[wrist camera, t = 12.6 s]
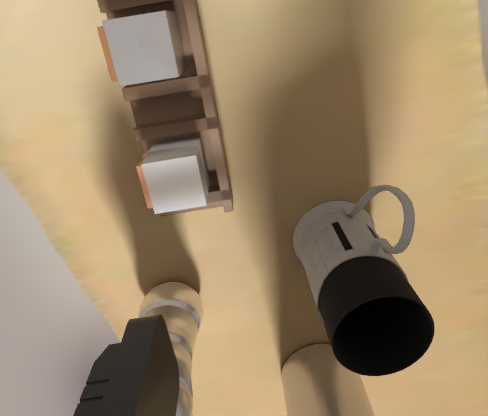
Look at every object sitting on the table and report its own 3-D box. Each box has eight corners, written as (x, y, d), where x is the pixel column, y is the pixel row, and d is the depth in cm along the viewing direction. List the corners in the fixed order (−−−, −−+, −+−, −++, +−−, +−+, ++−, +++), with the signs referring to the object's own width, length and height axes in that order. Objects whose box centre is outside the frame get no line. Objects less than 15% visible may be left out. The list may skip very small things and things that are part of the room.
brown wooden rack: (232, 196, 41) (234, 234, 34) (163, 207, 41) (150, 247, 34) (190, -33, 33) (180, -48, 26) (104, -17, 33) (70, -28, 26)
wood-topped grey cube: (186, 67, 34) (178, 76, 29) (129, 77, 34) (110, 87, 29) (175, 12, 32) (165, 10, 27) (115, 22, 32) (93, 22, 27)
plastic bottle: (211, 313, 47) (201, 498, 29) (155, 327, 48) (110, 517, 29) (194, 267, 44) (171, 439, 26) (134, 282, 45) (71, 460, 27)
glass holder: (285, 269, 45) (311, 378, 31) (312, 143, 39) (358, 208, 26) (363, 277, 46) (421, 386, 32) (400, 154, 40) (490, 223, 26)
